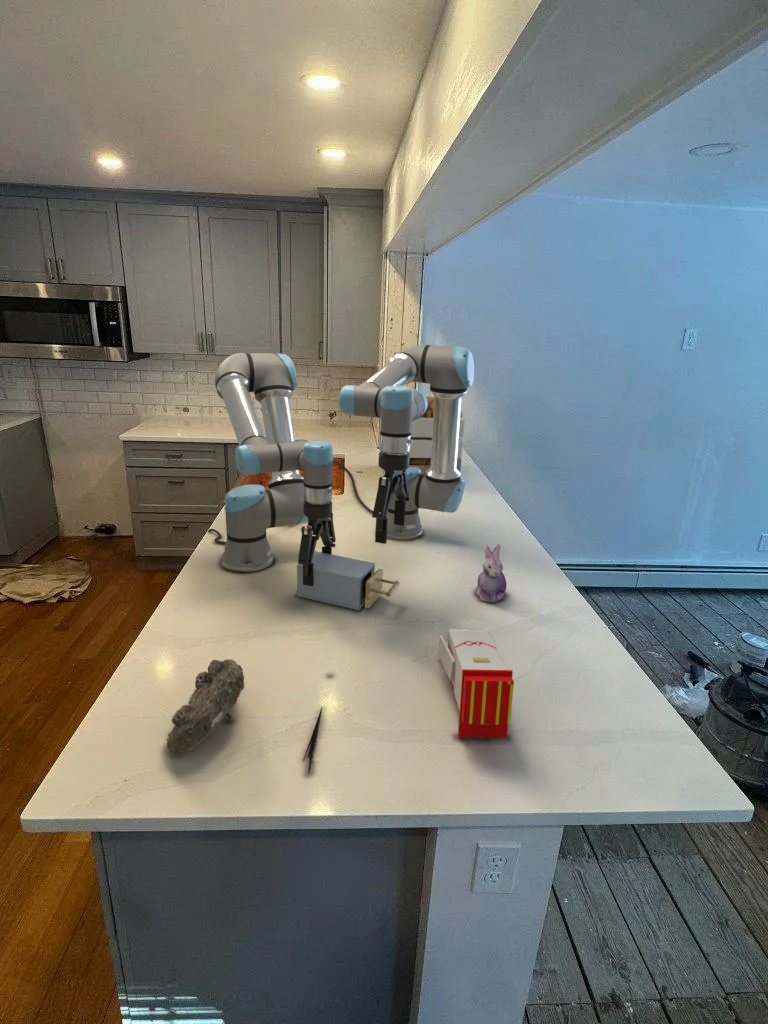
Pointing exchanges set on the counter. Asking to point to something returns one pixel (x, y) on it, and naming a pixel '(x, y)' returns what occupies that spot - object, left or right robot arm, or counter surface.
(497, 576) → the figurine
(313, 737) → the feather
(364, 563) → the cabinet
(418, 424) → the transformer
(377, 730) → the counter surface
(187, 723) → the fossil
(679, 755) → the counter surface
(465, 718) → the toy
